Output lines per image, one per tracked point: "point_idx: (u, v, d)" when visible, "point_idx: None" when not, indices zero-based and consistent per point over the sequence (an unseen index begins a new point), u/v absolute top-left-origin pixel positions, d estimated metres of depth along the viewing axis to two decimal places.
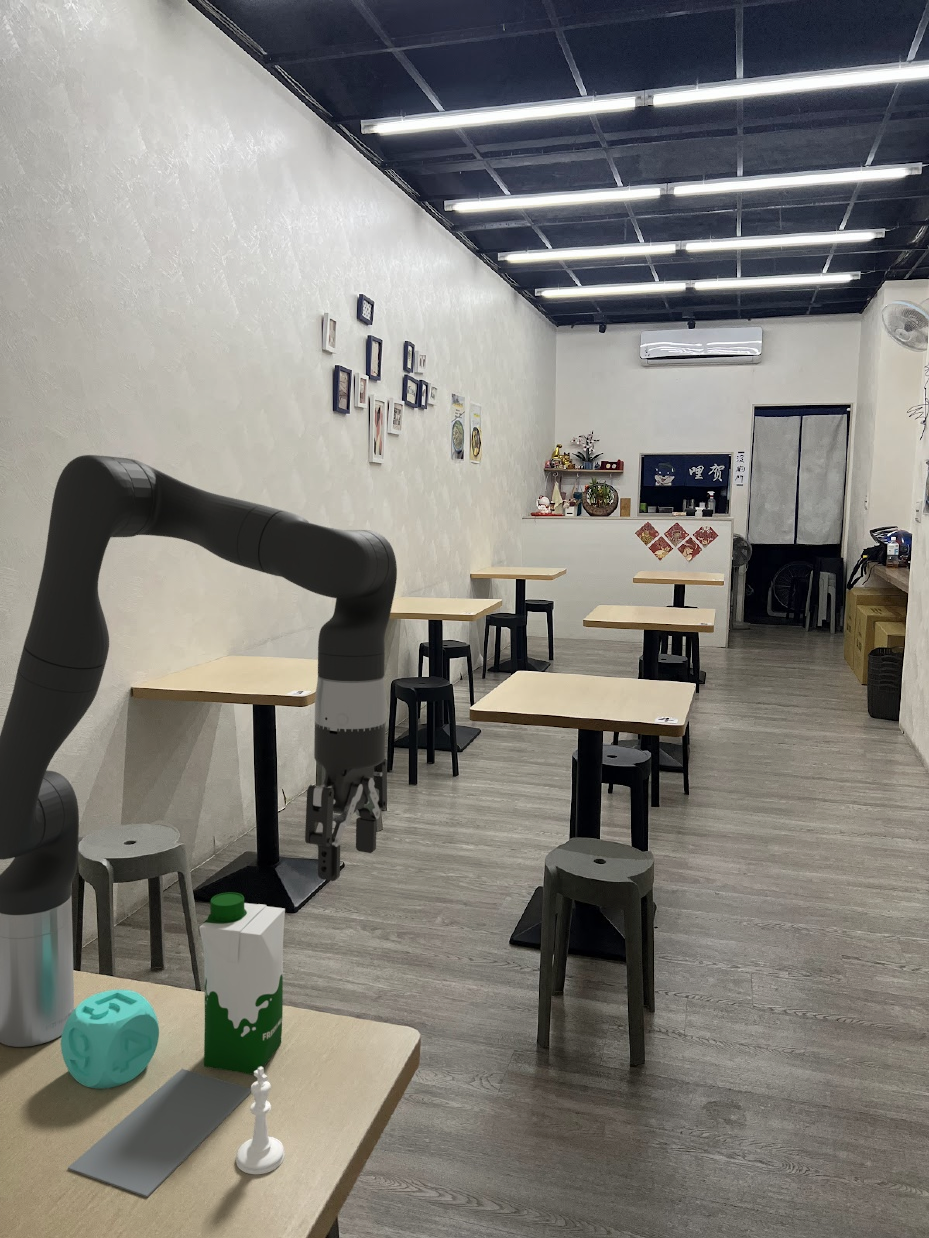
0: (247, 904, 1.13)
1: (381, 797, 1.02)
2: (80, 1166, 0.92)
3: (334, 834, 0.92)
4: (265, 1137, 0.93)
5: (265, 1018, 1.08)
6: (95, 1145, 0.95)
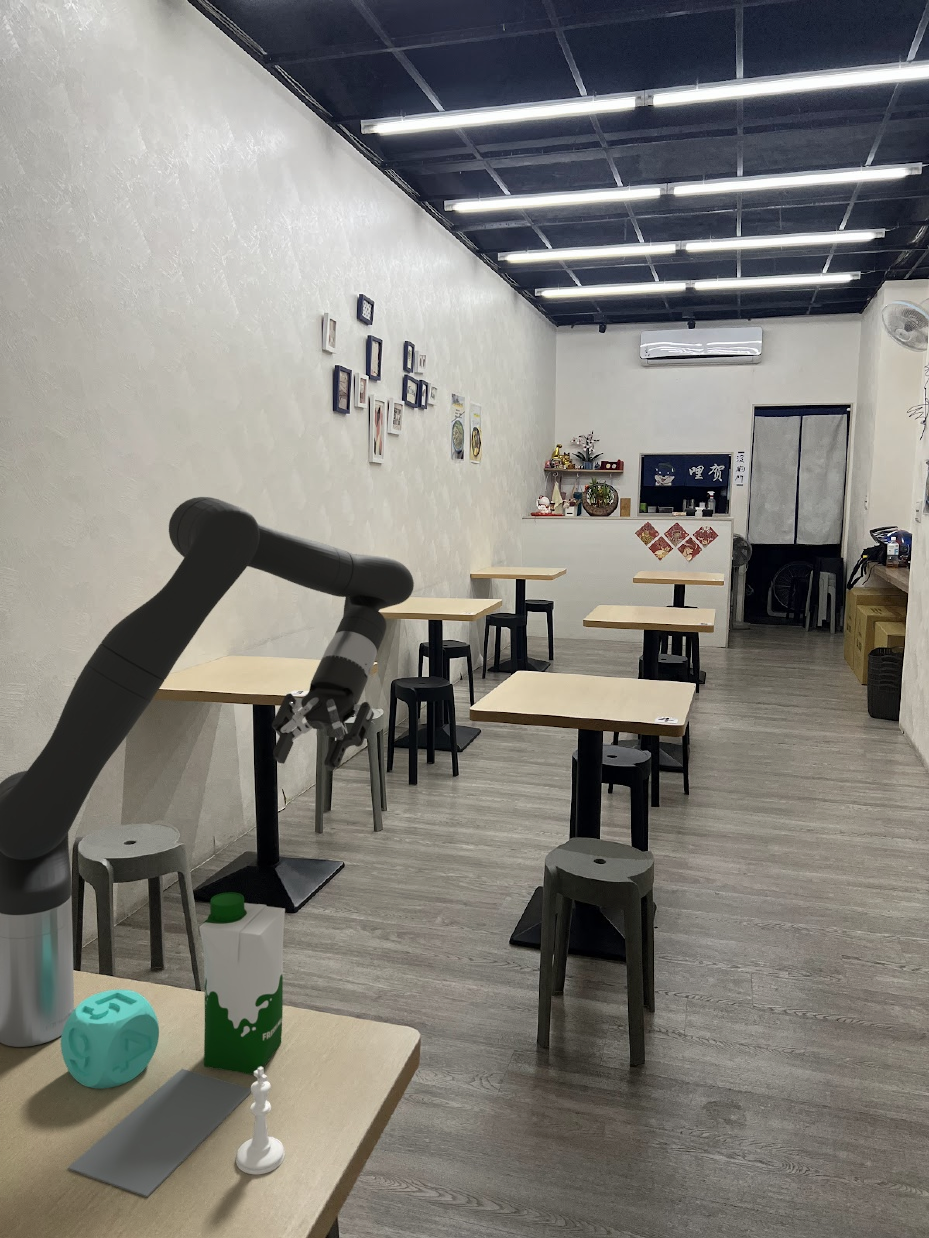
0: (247, 904, 1.13)
1: None
2: (80, 1166, 0.92)
3: None
4: (265, 1137, 0.93)
5: (265, 1018, 1.08)
6: (95, 1145, 0.95)
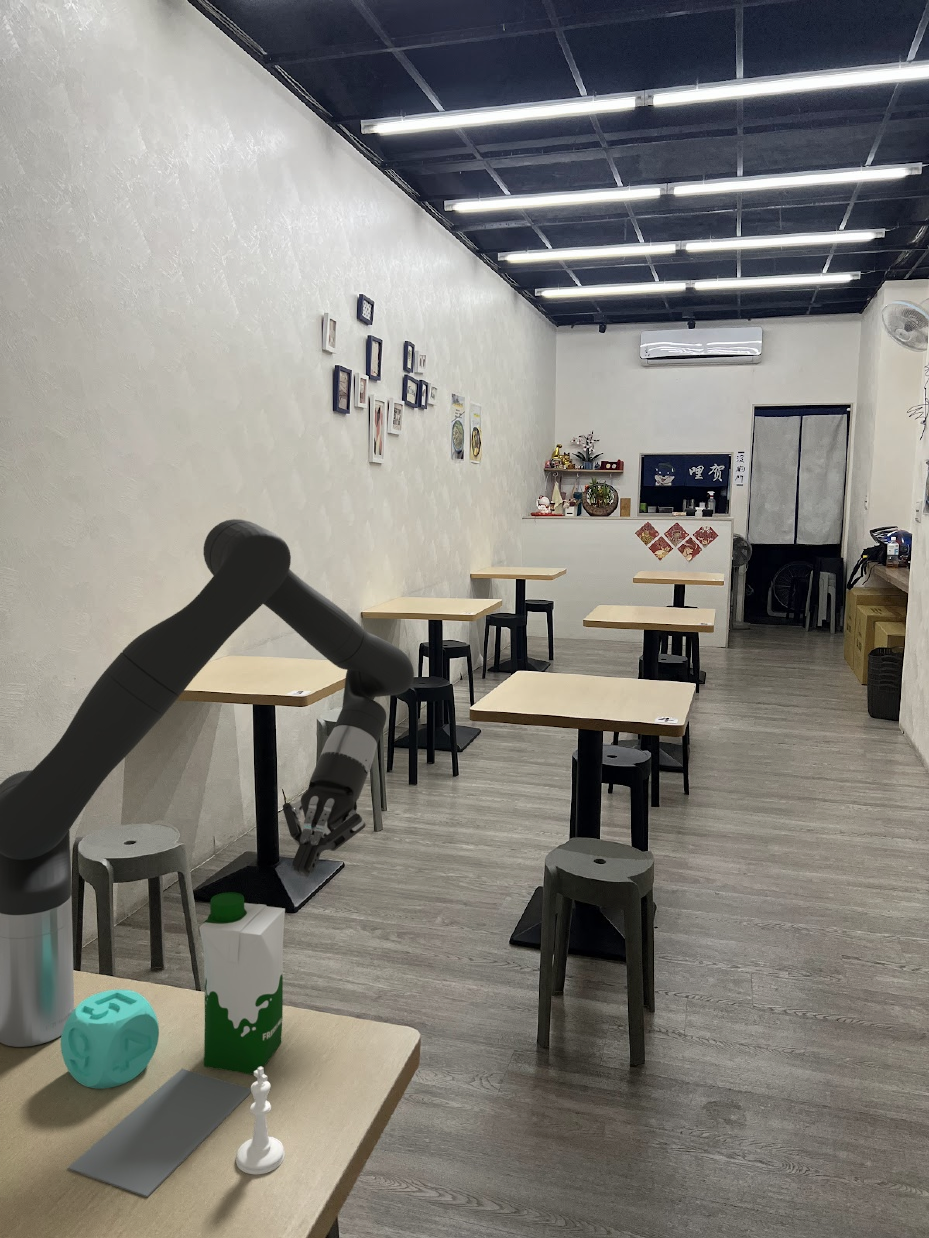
0: (247, 904, 1.13)
1: None
2: (80, 1166, 0.92)
3: None
4: (265, 1137, 0.93)
5: (265, 1018, 1.08)
6: (95, 1145, 0.95)
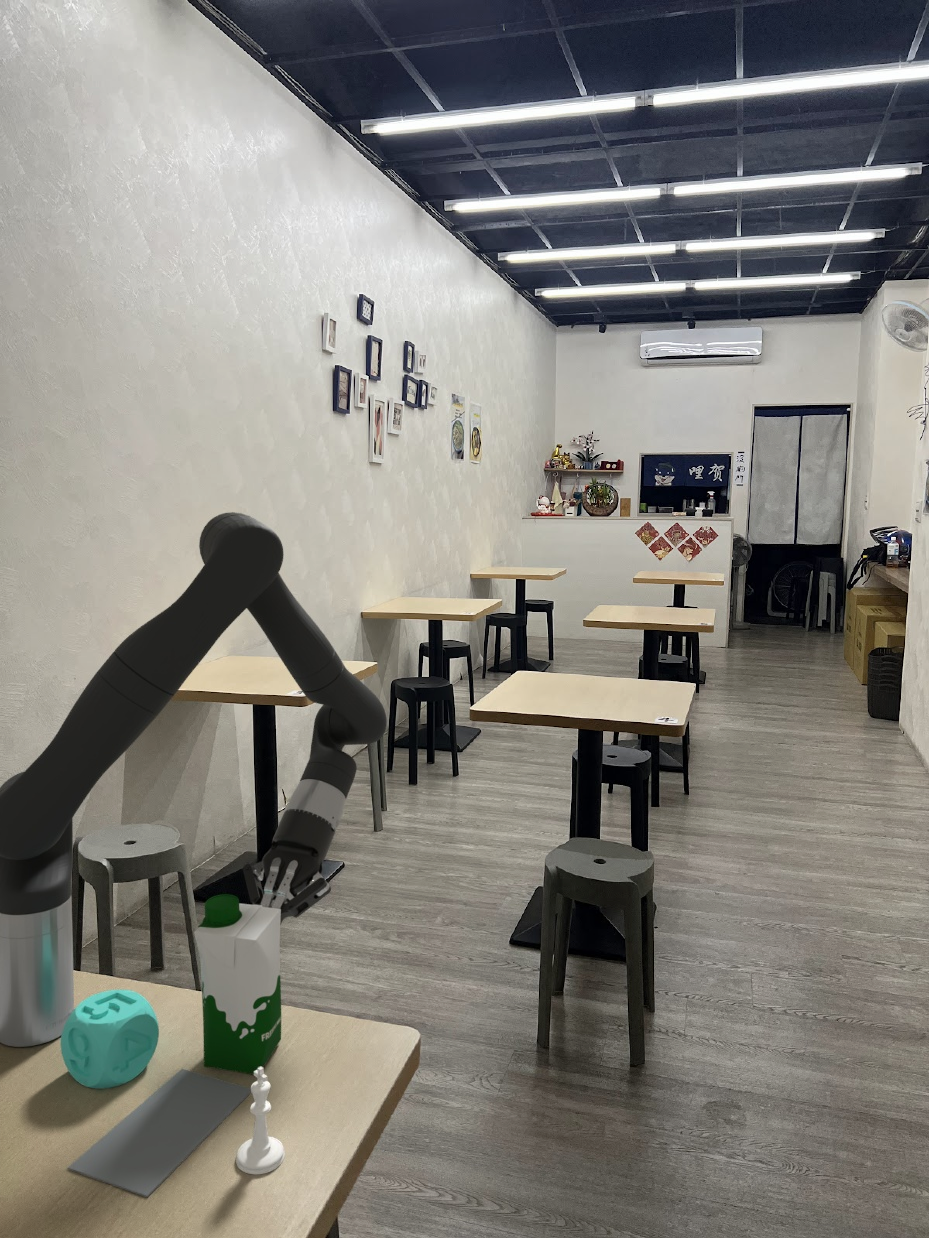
0: (242, 905, 1.12)
1: None
2: (80, 1166, 0.92)
3: None
4: (265, 1137, 0.93)
5: (263, 1019, 1.07)
6: (95, 1145, 0.95)
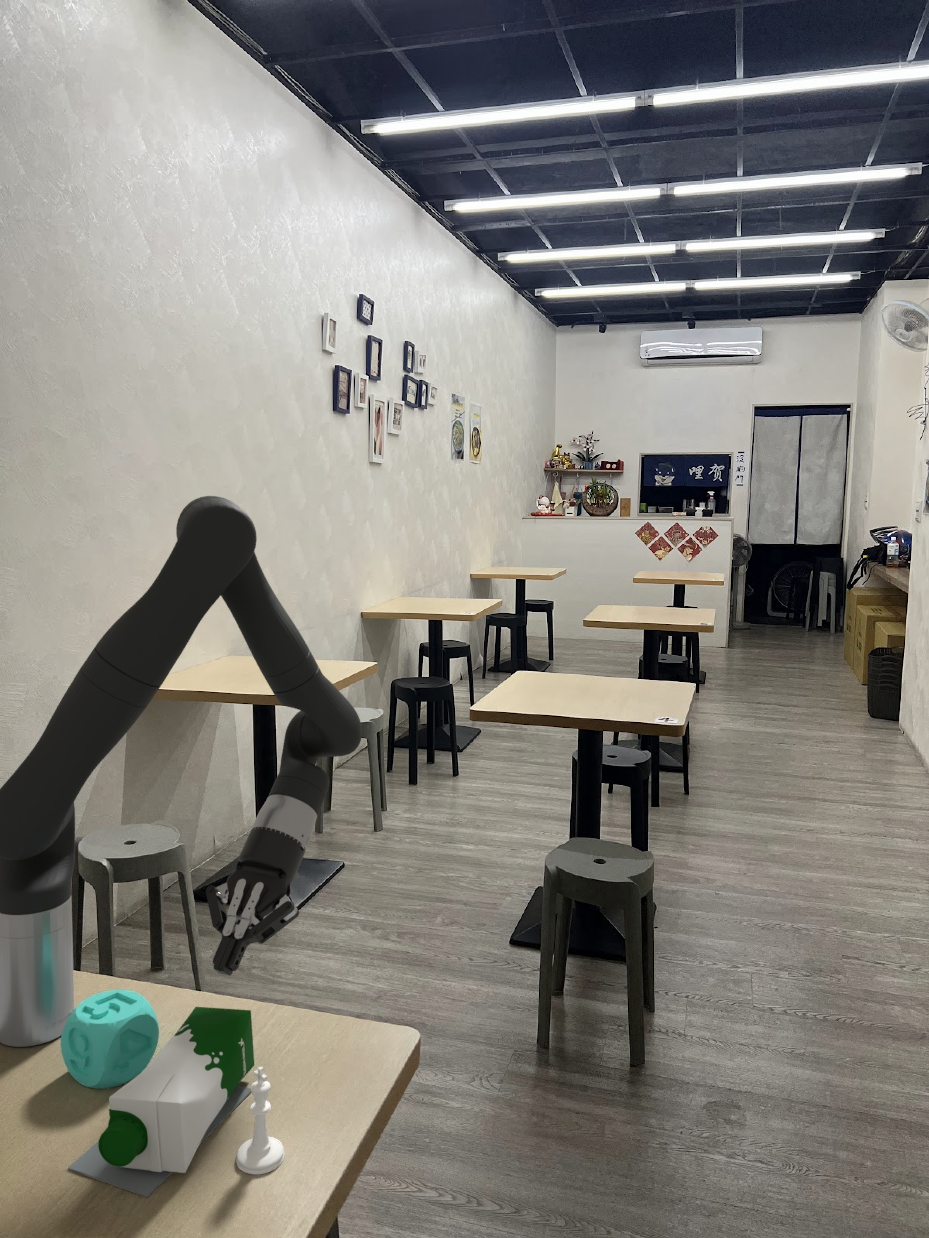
0: (134, 1103, 0.90)
1: None
2: (80, 1166, 0.92)
3: None
4: (265, 1137, 0.93)
5: (233, 1090, 1.01)
6: (95, 1145, 0.95)
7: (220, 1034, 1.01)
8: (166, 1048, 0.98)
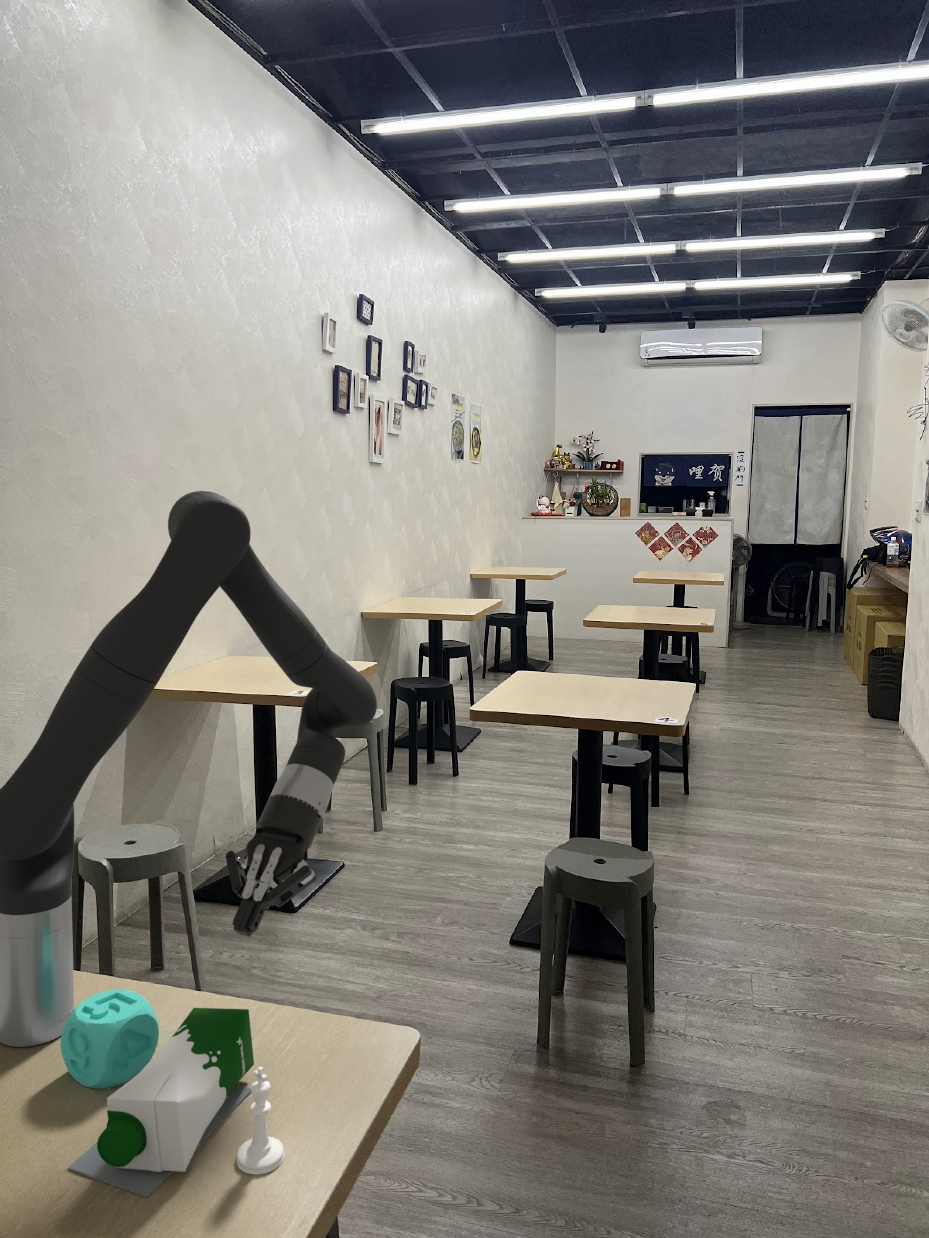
0: (132, 1103, 0.90)
1: None
2: (80, 1166, 0.92)
3: None
4: (265, 1137, 0.93)
5: (232, 1089, 1.01)
6: (95, 1145, 0.95)
7: (217, 1034, 1.01)
8: (164, 1048, 0.98)
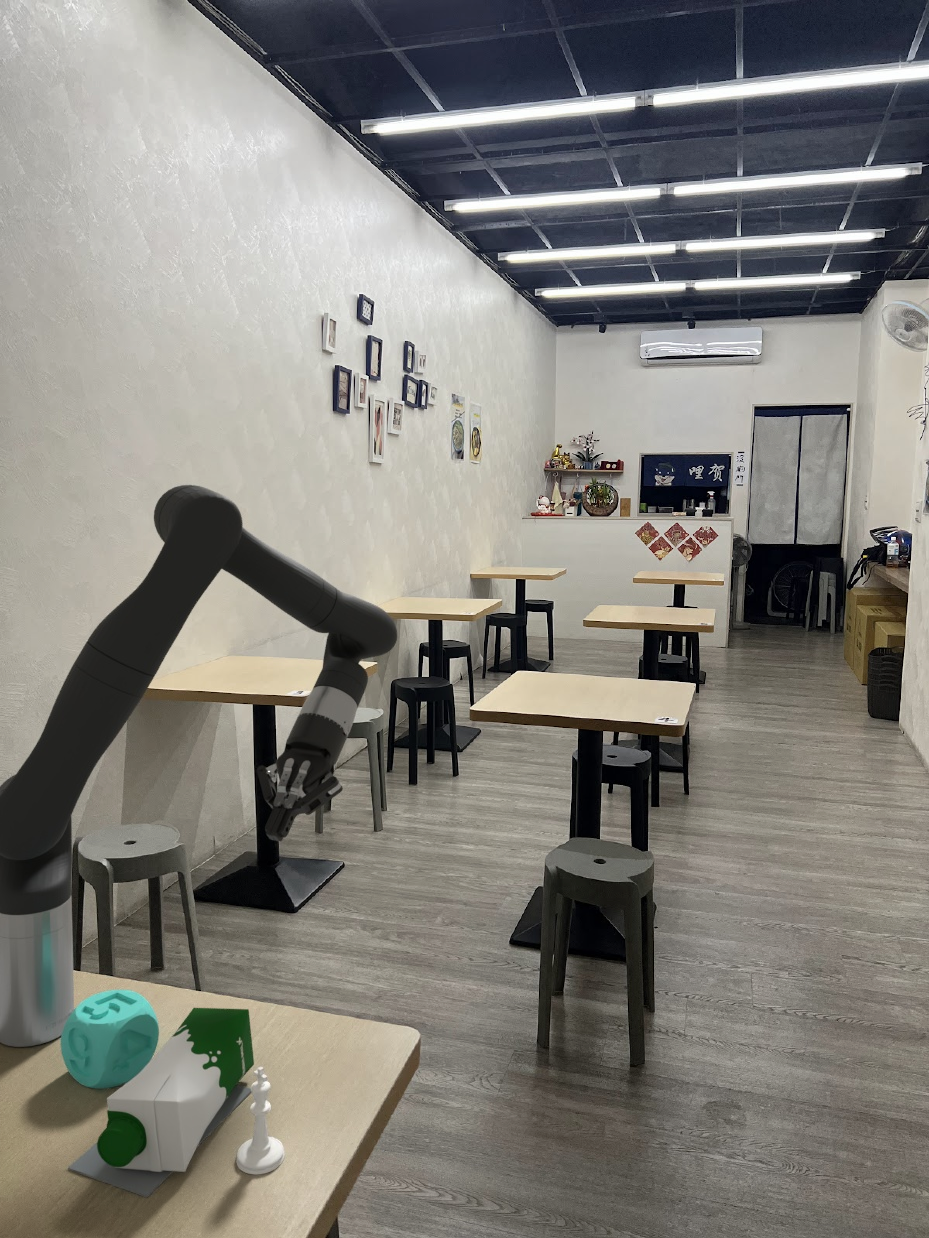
0: (132, 1103, 0.90)
1: None
2: (80, 1166, 0.92)
3: None
4: (265, 1137, 0.93)
5: (232, 1089, 1.01)
6: (95, 1145, 0.95)
7: (217, 1034, 1.01)
8: (164, 1048, 0.98)
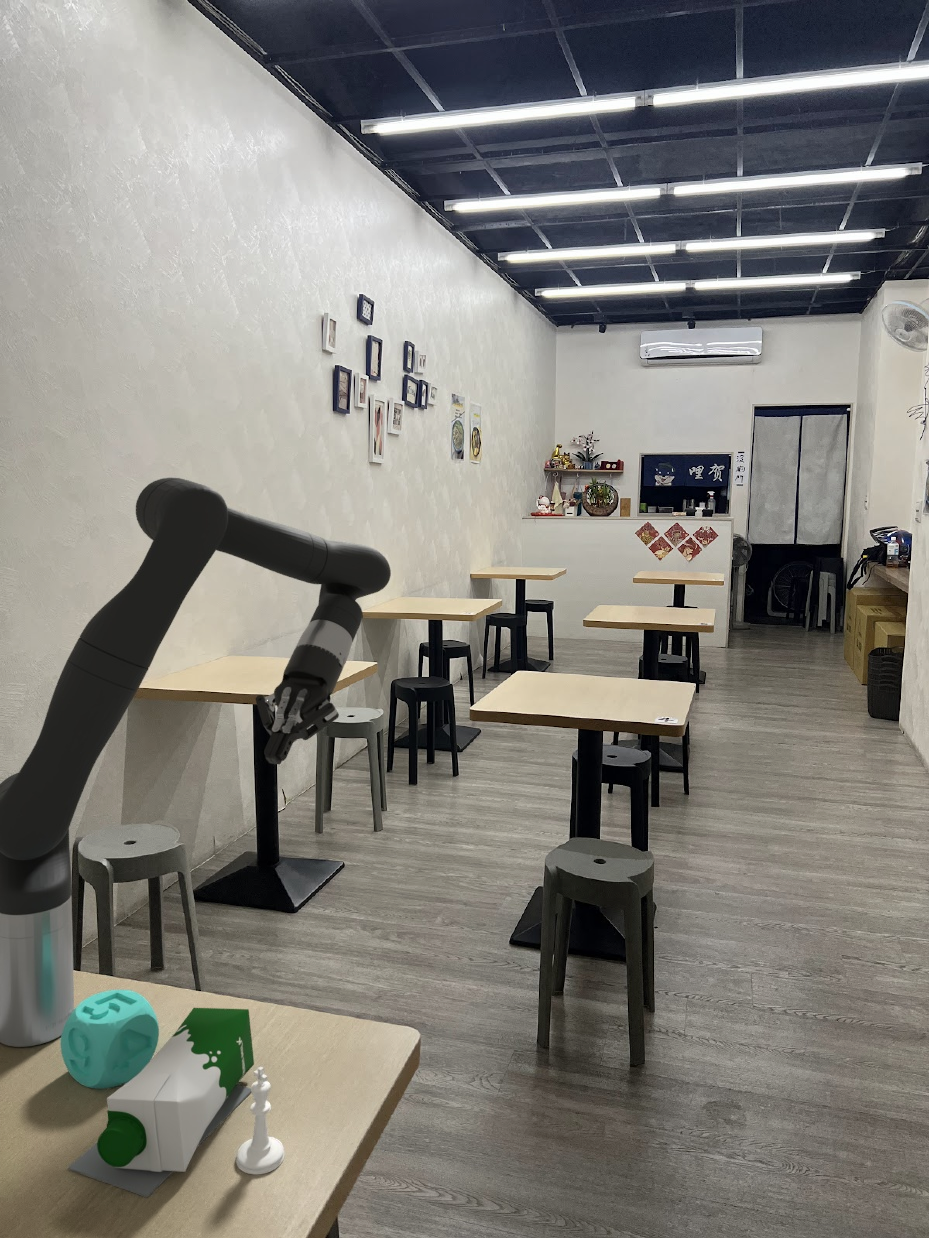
0: (132, 1103, 0.90)
1: None
2: (80, 1166, 0.92)
3: None
4: (265, 1137, 0.93)
5: (232, 1089, 1.01)
6: (95, 1145, 0.95)
7: (217, 1034, 1.01)
8: (164, 1048, 0.98)
